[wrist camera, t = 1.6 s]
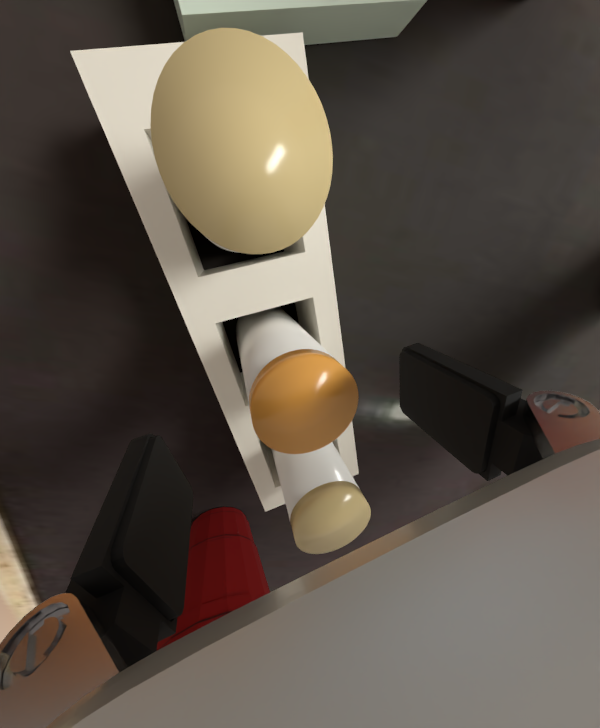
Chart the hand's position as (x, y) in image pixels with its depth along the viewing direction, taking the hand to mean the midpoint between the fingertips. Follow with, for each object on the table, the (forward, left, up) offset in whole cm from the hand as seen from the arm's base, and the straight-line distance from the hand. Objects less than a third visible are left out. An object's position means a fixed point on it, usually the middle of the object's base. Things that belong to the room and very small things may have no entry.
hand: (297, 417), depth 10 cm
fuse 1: (-1, -8, -11) cm, 14 cm away
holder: (-1, 0, -11) cm, 11 cm away
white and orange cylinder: (-1, 0, -11) cm, 11 cm away
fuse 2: (-1, +8, -11) cm, 14 cm away
